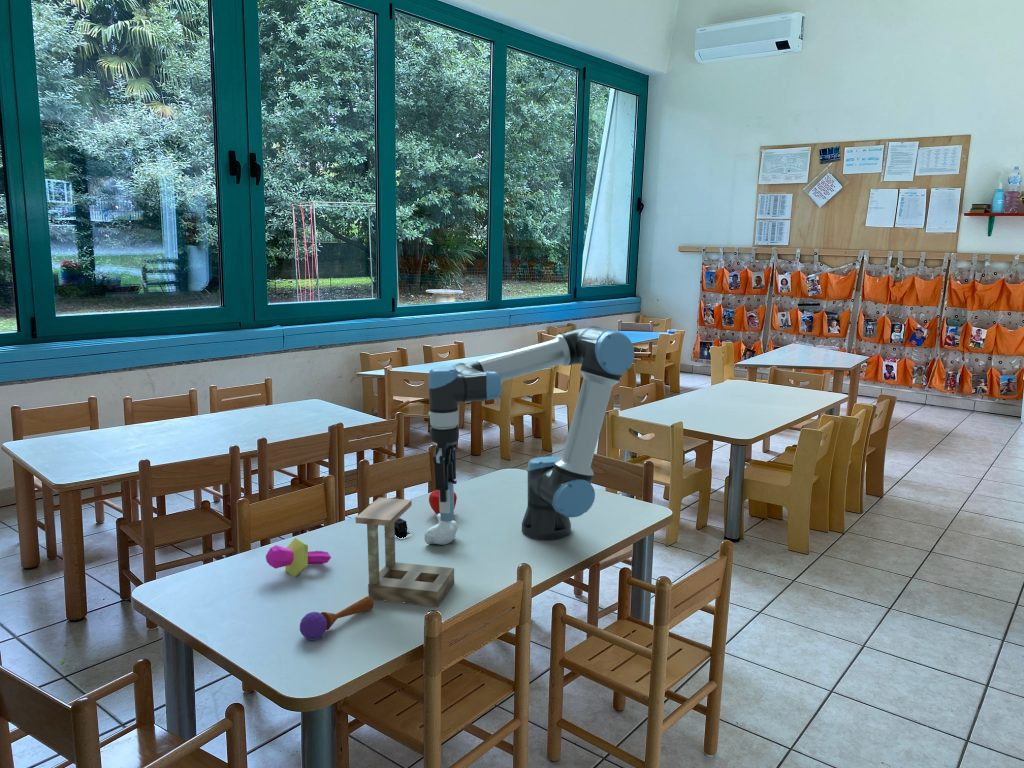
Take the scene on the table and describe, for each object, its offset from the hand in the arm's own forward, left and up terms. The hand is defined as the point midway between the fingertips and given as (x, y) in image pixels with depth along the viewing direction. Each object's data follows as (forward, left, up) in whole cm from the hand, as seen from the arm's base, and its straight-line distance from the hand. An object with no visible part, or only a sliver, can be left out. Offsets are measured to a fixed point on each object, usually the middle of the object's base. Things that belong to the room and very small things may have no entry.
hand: (446, 509), depth 212 cm
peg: (0, 0, -3) cm, 3 cm away
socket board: (+4, +16, -16) cm, 23 cm away
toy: (+38, +13, -17) cm, 43 cm away
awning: (+11, +16, -12) cm, 23 cm away
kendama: (+15, +37, -17) cm, 43 cm away
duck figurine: (+6, -16, -17) cm, 24 cm away
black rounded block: (+21, -20, -17) cm, 34 cm away
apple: (+13, -38, -17) cm, 43 cm away
